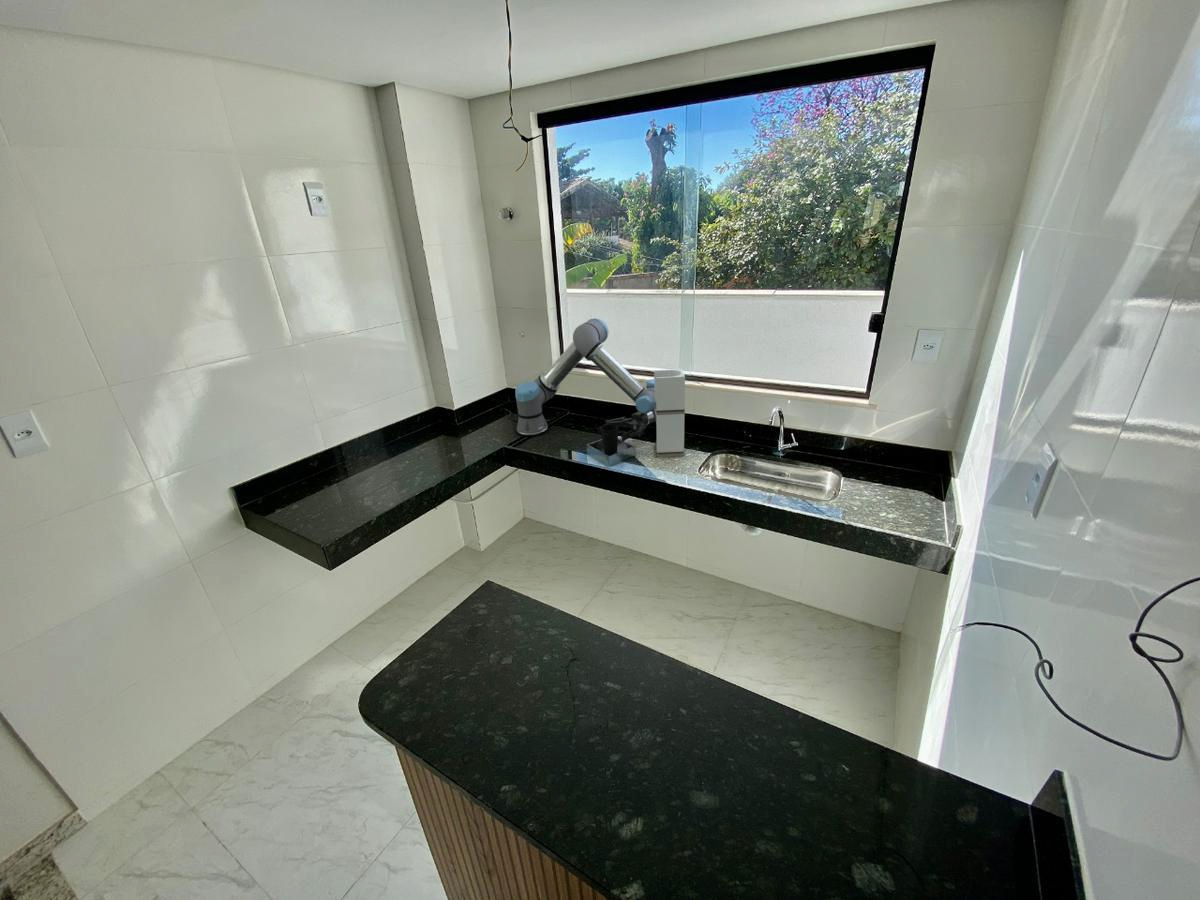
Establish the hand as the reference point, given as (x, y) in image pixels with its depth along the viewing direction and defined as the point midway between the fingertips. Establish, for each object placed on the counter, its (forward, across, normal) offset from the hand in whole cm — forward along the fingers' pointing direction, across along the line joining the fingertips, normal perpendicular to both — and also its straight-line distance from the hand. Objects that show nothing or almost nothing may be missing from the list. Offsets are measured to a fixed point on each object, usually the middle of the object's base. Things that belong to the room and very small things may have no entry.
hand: (610, 434), depth 207 cm
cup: (0, 0, -9) cm, 9 cm away
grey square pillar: (-18, -18, -10) cm, 27 cm away
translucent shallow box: (0, 0, -10) cm, 10 cm away
